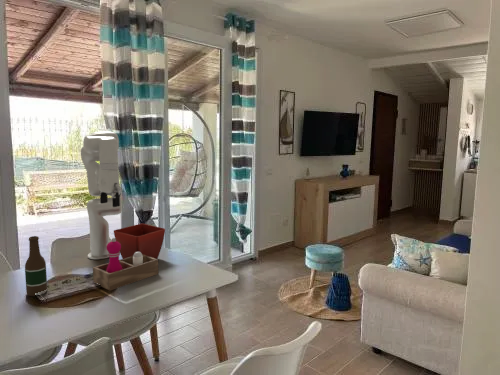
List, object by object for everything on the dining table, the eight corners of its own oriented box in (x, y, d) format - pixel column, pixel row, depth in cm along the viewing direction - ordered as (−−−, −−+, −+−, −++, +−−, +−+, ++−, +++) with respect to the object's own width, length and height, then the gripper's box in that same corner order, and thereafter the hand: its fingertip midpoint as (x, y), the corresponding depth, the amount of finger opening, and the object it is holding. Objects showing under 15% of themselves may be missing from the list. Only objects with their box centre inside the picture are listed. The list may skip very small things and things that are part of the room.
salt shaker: (131, 274, 174) (130, 251, 173) (139, 271, 178) (138, 249, 176) (137, 276, 172) (136, 253, 170) (144, 274, 175) (144, 251, 173)
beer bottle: (44, 287, 160) (41, 233, 157) (50, 293, 155) (47, 237, 152) (24, 292, 155) (20, 236, 152) (29, 298, 150) (25, 240, 146)
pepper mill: (107, 285, 161) (105, 241, 158) (105, 279, 167) (103, 236, 164) (124, 283, 164) (123, 239, 161) (122, 277, 170) (121, 235, 168)
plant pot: (137, 269, 184) (137, 236, 181) (113, 261, 194) (112, 230, 192) (166, 259, 199) (166, 228, 197) (142, 252, 210) (142, 223, 207)
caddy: (93, 284, 164) (92, 267, 163) (141, 269, 184) (141, 253, 183) (109, 292, 156) (109, 274, 155) (158, 275, 176) (157, 259, 175)
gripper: (90, 165, 165) (91, 202, 168) (112, 169, 155) (113, 209, 158) (106, 164, 171) (107, 200, 174) (128, 168, 161) (128, 206, 164)
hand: (110, 204), depth 166 cm, fingers open, 9 cm apart
